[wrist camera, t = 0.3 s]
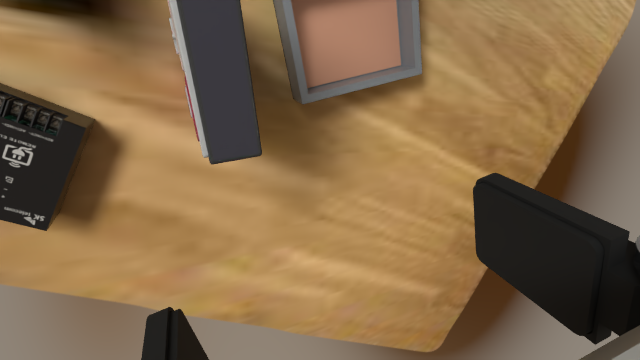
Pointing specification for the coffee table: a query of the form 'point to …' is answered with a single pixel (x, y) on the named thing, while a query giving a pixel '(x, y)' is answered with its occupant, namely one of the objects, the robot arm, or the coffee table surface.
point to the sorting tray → (347, 44)
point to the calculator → (217, 77)
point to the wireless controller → (37, 156)
